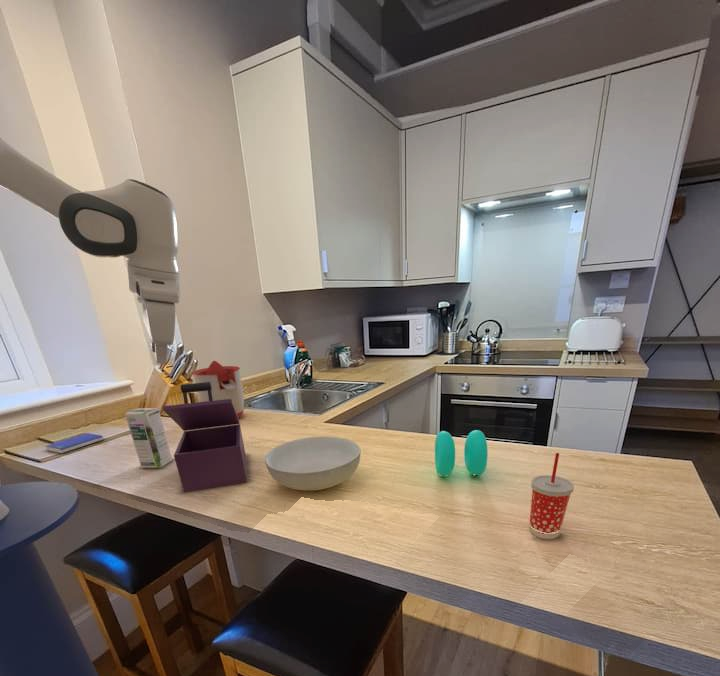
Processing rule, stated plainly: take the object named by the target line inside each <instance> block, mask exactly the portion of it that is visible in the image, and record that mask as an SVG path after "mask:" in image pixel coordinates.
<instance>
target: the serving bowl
mask: <svg viewBox="0 0 720 676" xmlns="http://www.w3.org/2000/svg"><path fill="white" fill-rule="evenodd" d="M361 451H362V450H361V447H360V445H359V444H358V443H357V442H355V441H353V440H351V439H348V438H343V437H338V436H310V437H302V438H297V439H294V440H290V441H287V442H284V443H282V444H279V445H277V446H276V447H274V448H272V449H270V450H269V451H268V452H267V453H266V455H265V457H264V464H265V466H266V470H267V472H268V473H269V474H270V476H271V478H273V480H275V481H276V482H277V483H278V484H280V485H282V486H283V487H286V488H287V489H288V488H289V489H292V490H298V491H320V490H325V489H329V488H333V487H335V486H337V485H340V484H341V483H343V482H345V481H347V480H348V479H349V478H350V477H351V476H353V474H354V473H355V472H356V470H357V469H358V466H359V464H360V460H361V453H362V452H361Z"/></svg>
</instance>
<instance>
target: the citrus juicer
mask: <svg viewBox="0 0 720 676" xmlns="http://www.w3.org/2000/svg"><path fill="white" fill-rule="evenodd" d="M240 369H241V367H239V366H236V365H222V364H221V363H219V362H218V361H217V360H212V361H211V363H210V364H209V366H208V367H204V368H201V369H196V370H194V371H192V372H191V375H192V377H193V381H194V383H202V382H211V386H212V390H211V392H212V398H213V401H215V400H224V399H231V400H232V402H233V405H234V408H235V411H236V413H237V416H238V419H239V420H240V419H241V418H242V417H243V416H244V407H245V395H244V388H243V382H242V377H241V371H240ZM196 394H197V398H198V401H199V402H206V401H209V397H208V391H200V392H196Z"/></svg>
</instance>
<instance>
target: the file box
mask: <svg viewBox="0 0 720 676" xmlns="http://www.w3.org/2000/svg"><path fill="white" fill-rule="evenodd" d="M173 456H174V461H175V463H176V464H175V466H176V469H177V472H178V476H179V479H180V484H181V486H182V491H183V492H184V493H187V492H193V491H200V490H205V489H213V488H218V487H224V486H231V485H238V484H244V483H248V475H247V473H248V472H247V454H246V449H245V444H244V439H243V433H242V428H241V424H235V425H227V426H219V427H211V428H203V429H195V430H187V431H184V430H183V433H182V436H181V438H180V439H179V442H178V444H177V447H176V449H175V452H174V454H173Z"/></svg>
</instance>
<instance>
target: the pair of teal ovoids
mask: <svg viewBox="0 0 720 676" xmlns="http://www.w3.org/2000/svg"><path fill="white" fill-rule="evenodd" d="M455 446H456V445H455V440H454V438H453V436H452V435H451V433H450V432H448V431H446V430H441V431H439V432H438V433H437V434H436V436H435V441H434V465H435V470H437V471H436V473H437V475H438V476H440V475H443V476H440V477H442V478H446V477H447V476H446V475H448V476H450V475H451V474H452V472H453V470H454V468H455V462H456V447H455ZM463 451H464V452H463V457H464V464H465V468H466V470H467V472H468V471H469V472H470V473H469V472H468V473H469V474H470V475H471V476H473V477H476V476H475V475H479V476H482V475H483V474H484V472H485V471H486V468H487V464H488V443H487V438H486V436H485V434H484V432H483V431H481V430H479V429H474V430H472V431H470V432H469V433H468V434H467V436H466V438H465V442H464V449H463ZM471 473H472V474H475V475H472V474H471ZM439 474H440V475H439ZM449 474H450V475H449ZM481 474H482V475H481ZM479 476H478V477H479Z"/></svg>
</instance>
